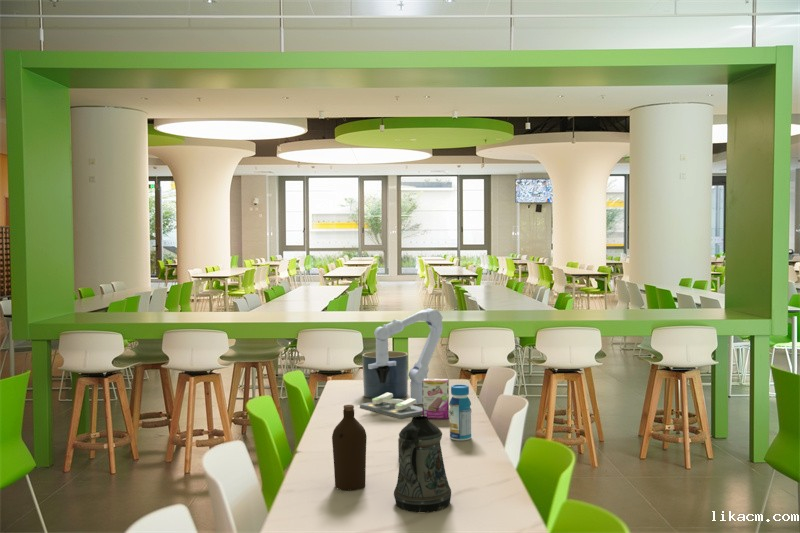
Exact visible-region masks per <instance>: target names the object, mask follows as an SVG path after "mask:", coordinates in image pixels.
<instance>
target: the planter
mask: <svg viewBox="0 0 800 533" xmlns="http://www.w3.org/2000/svg"><path fill="white" fill-rule="evenodd" d="M361 355H362V356H361V357H362V382H363V396H364V397H365V398H367V399H370V400H372V399H374V398H376V397H379V396H381V395H383V394H385V393H387V392H388V393H392V394H393V397H392V398H390V399H403V398H405V397H407V396H408V394H409V393H408V392H409V390H408V389H409V386H408V385H409V384H408V383H409V382H408V380H409V357H408V356H409V354H408V352H406V351H397V350H388V360H389V361H396V366H388V367H390V370H389V372H388V374H387V377H386V381H385V383H380V380H379V376H378V374H377V372H376V370H375V368H373V369H368V364H373V363H376V351H369V352H368V351H367V352H365V353H363V354H361Z"/></svg>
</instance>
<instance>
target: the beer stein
mask: <svg viewBox="0 0 800 533" xmlns="http://www.w3.org/2000/svg"><path fill="white" fill-rule="evenodd" d="M399 437H400V440H401V442H402V446H401V448H400V451H399V452H398V462H399V464H398V473H397V474H398V475H397V482H396V485H395V488H394V491H393V498H394V499H395V505H396V507H397V508H399V509H400V510H402V511H407V512H411V513H418V512H425V513H434V512H433V511H435V512H440V511H442V510H445V509H446V508H448V507H449V506H450V504H451V498H452V489H451V486H450V485H449V481H448V478H447V474H446V469H445V464H444V463H445V462H444V458H443V453H442V446H441V440H442V439H443V438H442V437H443V432H442V430H441V429H440V428H439V427H438V426H436V425H435V424H434V423H433V422H431V421H430V419H428V418H427V417H426V416H423V415H417V416H412V417H411V420H410V421H409V423H407V424H406V425H405V426H404V427H403V428H401V430H400V431H399V433H398V438H399Z"/></svg>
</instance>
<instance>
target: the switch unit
mask: <svg viewBox="0 0 800 533" xmlns="http://www.w3.org/2000/svg"><path fill="white" fill-rule="evenodd" d="M395 405H396V404H393V403H386V402H382V403H380V404H375V403H373V402H372V401H370V402H365V403H359V408H362V409H365V410H369V411H372V412H376V413H379V414H381V415H385V416H386V415H387V416H391V417H394V418H398V419H400V420H401V419H407V418H410V417H411V418H413V417H415V416H423V406H419V405H418V406H417V405H415V404H413V405H411V406H409V407H407V408H405V409H403V410H398V409H395Z"/></svg>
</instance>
